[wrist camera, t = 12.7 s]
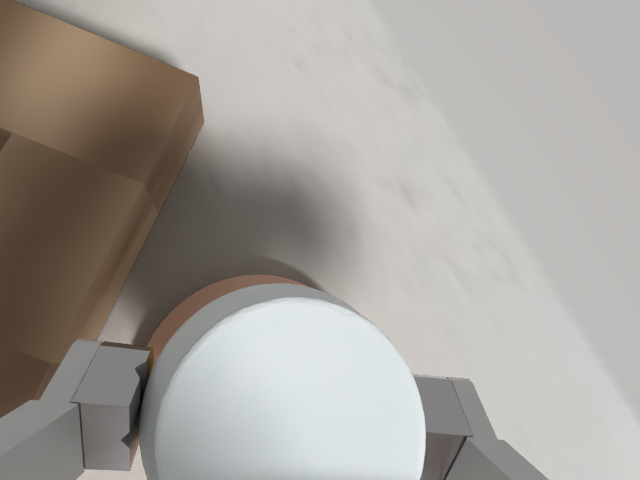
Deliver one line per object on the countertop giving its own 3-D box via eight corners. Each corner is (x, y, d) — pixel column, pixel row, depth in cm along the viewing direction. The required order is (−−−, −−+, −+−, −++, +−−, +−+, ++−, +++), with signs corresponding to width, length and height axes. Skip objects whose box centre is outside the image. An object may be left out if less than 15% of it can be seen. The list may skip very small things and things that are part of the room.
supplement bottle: (197, 505, 15) (131, 734, 6) (163, 336, 16) (63, 299, 7) (358, 451, 16) (519, 567, 7) (316, 297, 17) (408, 220, 8)
